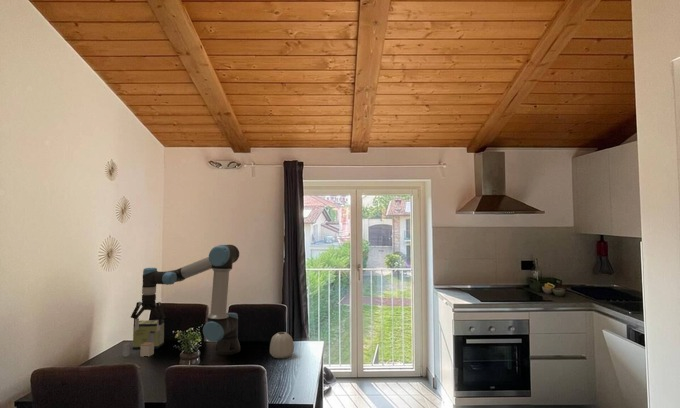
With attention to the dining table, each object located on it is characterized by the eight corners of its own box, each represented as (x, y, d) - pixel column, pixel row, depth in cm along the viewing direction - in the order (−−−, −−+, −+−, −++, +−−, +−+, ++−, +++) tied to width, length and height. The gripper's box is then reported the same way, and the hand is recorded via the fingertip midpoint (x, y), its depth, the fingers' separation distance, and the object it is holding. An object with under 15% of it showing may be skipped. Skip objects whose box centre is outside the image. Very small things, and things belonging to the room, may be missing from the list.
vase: (281, 351, 233) (281, 328, 234) (298, 355, 225) (298, 332, 226) (264, 357, 222) (264, 333, 223) (281, 362, 214) (282, 337, 215)
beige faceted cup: (153, 353, 230) (154, 342, 230) (148, 356, 225) (149, 345, 225) (145, 353, 230) (145, 342, 231) (140, 356, 225) (140, 344, 226)
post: (129, 355, 227) (130, 343, 227) (126, 357, 224) (127, 344, 225) (125, 355, 227) (125, 343, 228) (122, 356, 224) (123, 344, 225)
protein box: (138, 344, 249) (139, 320, 250) (164, 344, 251) (164, 319, 252) (132, 349, 239) (132, 324, 240) (158, 348, 240) (159, 323, 241)
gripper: (172, 293, 233) (170, 329, 231) (133, 292, 235) (131, 328, 234) (165, 295, 225) (164, 332, 224) (125, 294, 228) (123, 331, 226)
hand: (147, 330), depth 229 cm, fingers open, 13 cm apart
